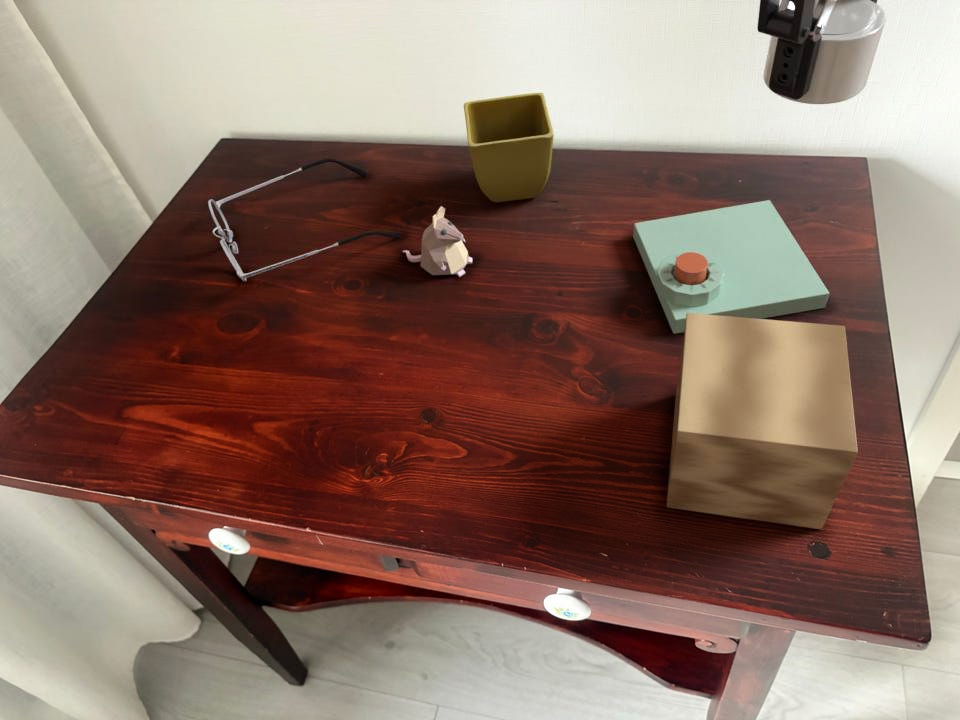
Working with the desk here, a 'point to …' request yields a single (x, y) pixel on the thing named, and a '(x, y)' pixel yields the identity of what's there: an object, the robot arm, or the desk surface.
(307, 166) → the eyeglasses
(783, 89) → the robot arm
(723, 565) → the desk surface
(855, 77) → the ramekin
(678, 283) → the scale
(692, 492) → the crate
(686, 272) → the button
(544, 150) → the flower pot
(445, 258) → the mouse figurine
